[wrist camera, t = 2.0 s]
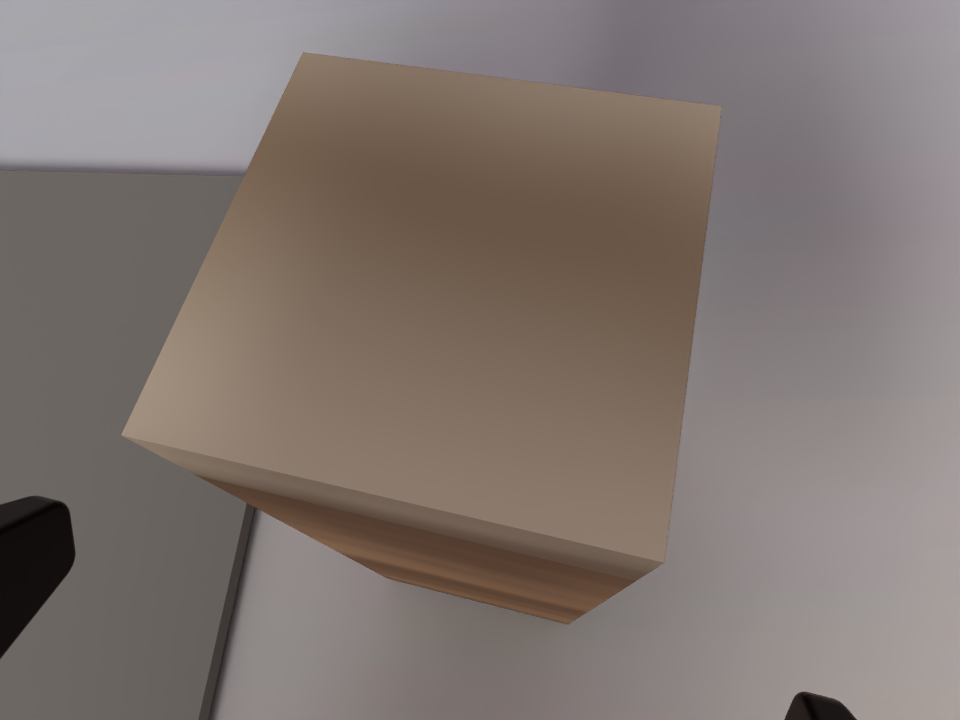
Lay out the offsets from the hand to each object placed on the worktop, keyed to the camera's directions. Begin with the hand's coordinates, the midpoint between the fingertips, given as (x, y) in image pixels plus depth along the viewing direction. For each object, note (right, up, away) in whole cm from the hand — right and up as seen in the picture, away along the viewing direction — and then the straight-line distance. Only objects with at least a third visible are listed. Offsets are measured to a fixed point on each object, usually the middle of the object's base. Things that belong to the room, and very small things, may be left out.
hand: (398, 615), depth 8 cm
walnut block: (+1, -1, +11) cm, 11 cm away
